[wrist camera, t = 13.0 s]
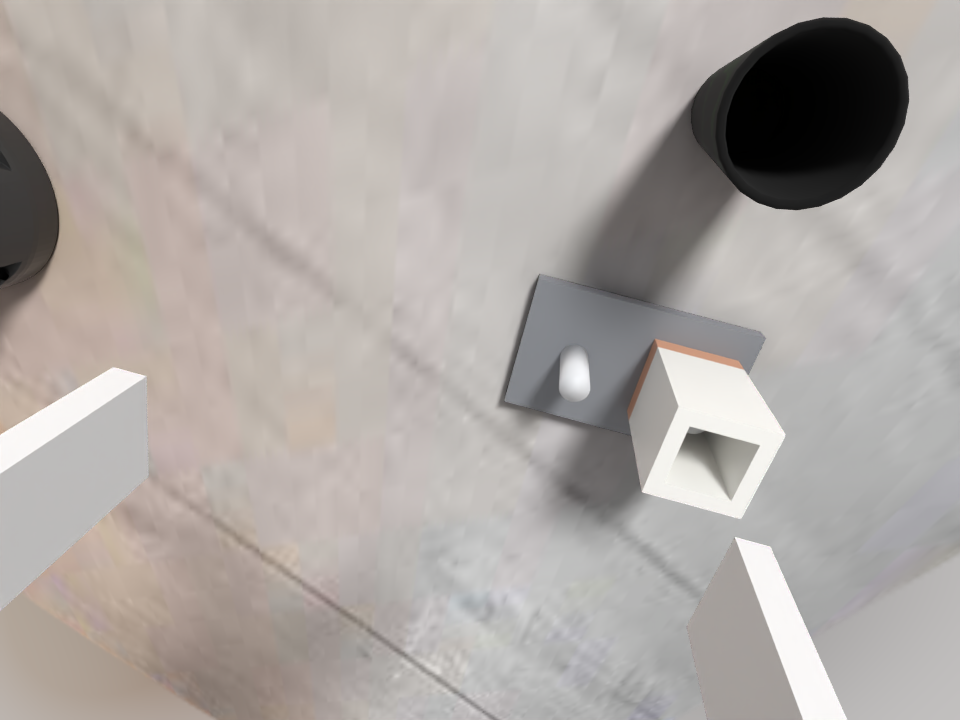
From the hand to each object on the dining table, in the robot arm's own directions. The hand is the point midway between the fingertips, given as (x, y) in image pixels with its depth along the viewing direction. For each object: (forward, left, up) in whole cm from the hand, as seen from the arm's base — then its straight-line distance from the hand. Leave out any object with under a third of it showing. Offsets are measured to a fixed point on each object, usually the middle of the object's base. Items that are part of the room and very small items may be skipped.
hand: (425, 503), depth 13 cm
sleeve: (+14, -8, -29) cm, 34 cm away
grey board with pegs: (+10, -8, -31) cm, 33 cm away
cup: (+11, +10, -31) cm, 34 cm away
